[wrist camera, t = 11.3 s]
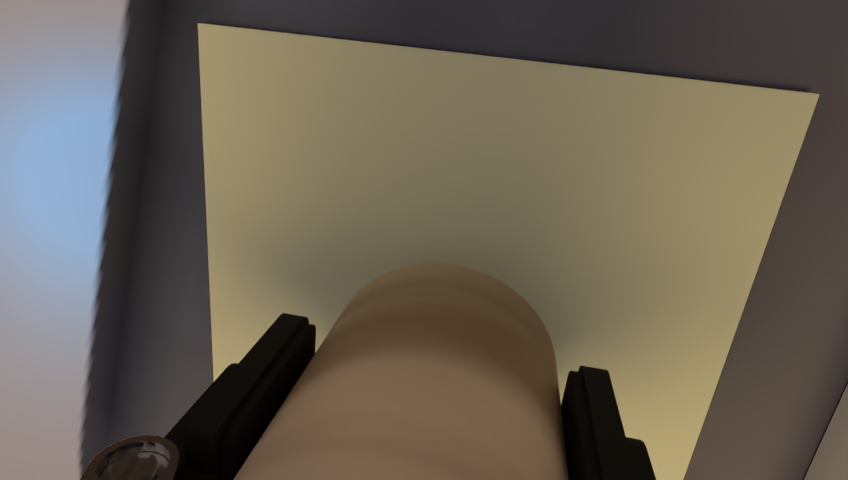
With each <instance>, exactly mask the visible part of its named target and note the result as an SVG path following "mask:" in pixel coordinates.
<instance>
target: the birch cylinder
mask: <svg viewBox="0 0 848 480" xmlns="http://www.w3.org/2000/svg"><path fill="white" fill-rule="evenodd" d="M234 480H569V474H568V465H567V456H566V446H565V437H564V428H563V419H562V410H561V401H560V392H559V383H558V374H557V365H556V358H555V352H554V348H553V344H552V341H551V338H550V335H549V333H548V331H547V329H546V327H545V325H544V323H543V322H542V320H541V319H540V317H539V316H538V314H537V313H536V312H535V310H534V309H533V308H532V307H531V306H530V305H529V304H528V302H527V301H526V300H525V299H524V298H523V297H521V296H520V295H519V294H518V293H517V292H516V291H514V290H513V289H512V288H510V287H509V286H507V285H506V284H504V283H503V282H501V281H500V280H498V279H496V278H494V277H492V276H490V275H488V274H485V273H483V272H480V271H477V270H474V269H471V268H468V267H463V266H459V265H454V264H444V263H422V264H416V265H409V266H405V267H401V268H398V269H394V270H392V271H390V272H387V273H385V274H383V275H380V276H379V277H377V278H375V279H374V280H372V281H371V282H369V283H368V284H366V285H365V286H364V287H363V288H362V289H360V290H359V291H358V292H357V293H356V294H355V295H354V297H353V298H352V299H351V300H350V301H349V302H348V304H347V305H346V307H345V308H344V310H343V312H342V313H341V315H340V316H339V318H338V319H337V321H336V322H335V324H334V325H333V327H332V328H331V330H330V332H329V333H328V335H327V336H326V338H325V339H324V341H323V342H322V344H321V345H320V347H319V348H318V350H317V352H316V353H315V355H314V356H313V358H312V359H311V361H310V362H309V364H308V365H307V367H306V369H305V370H304V372H303V373H302V375H301V376H300V378H299V379H298V381H297V382H296V384H295V385H294V387H293V389H292V390H291V392H290V393H289V395H288V396H287V398H286V399H285V401H284V402H283V404H282V406H281V407H280V409H279V410H278V412H277V413H276V415H275V416H274V418H273V419H272V421H271V422H270V424H269V426H268V427H267V429H266V430H265V432H264V433H263V435H262V436H261V438H260V439H259V441H258V443H257V444H256V446H255V447H254V449H253V450H252V452H251V453H250V455H249V456H248V458H247V459H246V461H245V463H244V464H243V466H242V467H241V469H240V470H239V472H238V473H237V475H236V476H235V478H234Z"/></svg>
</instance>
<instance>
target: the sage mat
mask: <svg viewBox="0 0 848 480" xmlns="http://www.w3.org/2000/svg"><path fill="white" fill-rule="evenodd" d="M198 40H199V63H200V85H201V107H202V129H203V151H204V174H205V196H206V218H207V240H208V262H209V285H210V307H211V329H212V351H213V374H214V381H215V380H216V379H217V378H218V377H219V375H220V374H221V373H222V372H223V371H224V370H225V369H226V368H227V367H228V366H229V365H230V364H233V363H239V362H240V361H241V360H242V359H243V358H244V356H245V355H246V354H247V353H248V352H249V351H250V349H251V348H252V347H253V346H254V345H255V344H256V342H257V341H258V340H259V339H260V338H261V337H262V336H263V334H264V333H265V332H266V331H267V330H268V329H269V327H270V326H271V325H272V324H273V323H274V322H275V320H276V319H277V318H278V317H279V316H280V315H281V314H282V313H287V314H292V315H298V316H304V317H307V318H308V320H309V324H312V325H315V327H316V344H315V353H316V352H317V350H318V348H319V347H320V345H321V344H322V342H323V341H324V339H325V338H326V336H327V335H328V333H329V332H330V330H331V328H332V327H333V325H334V324H335V322H336V321H337V319H338V318H339V316H340V315H341V313H342V312H343V310H344V308H345V307H346V305H347V304H348V302H349V301H350V300H351V299H352V298H353V297H354V295H355V294H356V293H357V292H358V291H359V290H360V289H362V288H363V287H364V286H365V285H366V284H368V283H369V282H371V281H372V280H374V279H375V278H377V277H379V276H380V275H383V274H385V273H387V272H390V271H392V270H394V269H398V268H401V267H405V266H409V265H416V264H422V263H444V264H454V265H459V266H463V267H468V268H471V269H474V270H477V271H480V272H483V273H485V274H488V275H490V276H492V277H494V278H496V279H498V280H500V281H501V282H503V283H504V284H506V285H507V286H509V287H510V288H512V289H513V290H514V291H516V292H517V293H518V294H519V295H520V296H521V297H523V298H524V299H525V300H526V301H527V302H528V304H529V305H530V306H531V307H532V308H533V309H534V310H535V312H536V313H537V314H538V316H539V317H540V319H541V320H542V322H543V323H544V325H545V327H546V329H547V331H548V333H549V335H550V338H551V341H552V344H553V348H554V352H555V358H556V365H557V374H558V383H559V392H560V401H561V403H562V399H563V394H564V390H565V386H566V381H567V377H568V374H569V371H570V370H571V371H577V372H578V370H579V367H580V366H581V365H582V366H587V367H593V368H599V369H604V370H608V372H609V375H610V379H611V383H612V386H613V390H614V394H615V398H616V402H617V405H618V409H619V413H620V417H621V421H622V425H623V428H624V432H625V436H626V437H629V438H634V439H639V440H642V441H643V442H644V443H645V446H646V448H647V451H648V454H649V458H650V461H651V464H652V468H653V471H654V474H655V477H656V480H683V479H684V476H685V473H686V470H687V468H688V465H689V462H690V459H691V456H692V453H693V451H694V448H695V445H696V442H697V439H698V436H699V434H700V431H701V428H702V425H703V422H704V420H705V417H706V414H707V411H708V408H709V405H710V403H711V400H712V397H713V394H714V391H715V388H716V386H717V383H718V380H719V377H720V374H721V372H722V369H723V366H724V363H725V360H726V357H727V355H728V352H729V349H730V346H731V343H732V340H733V338H734V335H735V332H736V329H737V326H738V324H739V321H740V318H741V315H742V312H743V309H744V307H745V304H746V301H747V298H748V295H749V292H750V290H751V287H752V284H753V281H754V278H755V276H756V273H757V270H758V267H759V264H760V261H761V259H762V256H763V253H764V250H765V247H766V244H767V242H768V239H769V236H770V233H771V230H772V228H773V225H774V222H775V219H776V216H777V213H778V211H779V208H780V205H781V202H782V199H783V196H784V194H785V191H786V188H787V185H788V182H789V179H790V177H791V174H792V171H793V168H794V165H795V163H796V160H797V157H798V154H799V151H800V148H801V146H802V143H803V140H804V137H805V134H806V131H807V129H808V126H809V123H810V120H811V117H812V115H813V112H814V109H815V106H816V103H817V100H818V98H819V95H820V94H815V93H810V92H801V91H792V90H783V89H775V88H766V87H757V86H748V85H740V84H731V83H722V82H713V81H705V80H696V79H687V78H678V77H670V76H661V75H652V74H643V73H635V72H626V71H617V70H608V69H600V68H591V67H582V66H573V65H565V64H556V63H547V62H538V61H530V60H521V59H512V58H503V57H495V56H486V55H477V54H468V53H460V52H451V51H442V50H433V49H425V48H416V47H407V46H398V45H390V44H381V43H372V42H363V41H355V40H346V39H337V38H328V37H320V36H311V35H302V34H293V33H285V32H276V31H267V30H258V29H250V28H241V27H232V26H223V25H215V24H204V23H198Z"/></svg>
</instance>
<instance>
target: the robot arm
mask: <svg viewBox="0 0 848 480" xmlns="http://www.w3.org/2000/svg"><path fill="white" fill-rule="evenodd" d="M315 344H316V327H315V325H312V324H309V320H308V318H307V317H304V316H298V315H292V314H287V313H282V314H281V315H280V316H279V317H278V318H277V319H276V320H275V322H274V323H273V324H272V325H271V326H270V327H269V329H268V330H267V331H266V332H265V333H264V334H263V336H262V337H261V338H260V339H259V340H258V341H257V342H256V344H255V345H254V346H253V347H252V348H251V349H250V351H249V352H248V353H247V354H246V355H245V356H244V358H243V359H242V360H241V361H240V362H239V363H233V364H230V365H229V366H228V367H227V368H226V369H225V370H224V371H223V372H222V373H221V374H220V375H219V377H218V378H217V379H216V380H215V381H214V382H213V383H212V384H211V386H210V387H209V388H208V389H207V390H206V391H205V392H204V393H203V395H202V396H201V397H200V398H199V399H198V400H197V401H196V402H195V404H194V405H193V406H192V407H191V408H190V409H189V410H188V411H187V413H186V414H185V415H184V416H183V417H182V418H181V419H180V420H179V422H178V423H177V424H176V425H175V426H174V427H173V428H172V429H171V431H170V432H169V433H168V434H167V435H166V436H165V437H164V438H163V437H160V436H152V435H142V436H135V437H130V438H127V439H124V440H120V441H118V442H116V443H114V444H112V445H110V446H108V447H106V448H105V449H103V450H102V451H101V452H100V453H98V454H97V455H96V456H95V457H94V458H93V459H92V460H91V462H90V463H89V464H88V466H87V467H86V469H85V471H84V473H83V475H82V477H81V479H80V480H234V478H235V476H236V475H237V473H238V472H239V470H240V469H241V467H242V466H243V464H244V463H245V461H246V459H247V458H248V456H249V455H250V453H251V452H252V450H253V449H254V447H255V446H256V444H257V443H258V441H259V439H260V438H261V436H262V435H263V433H264V432H265V430H266V429H267V427H268V426H269V424H270V422H271V421H272V419H273V418H274V416H275V415H276V413H277V412H278V410H279V409H280V407H281V406H282V404H283V402H284V401H285V399H286V398H287V396H288V395H289V393H290V392H291V390H292V389H293V387H294V385H295V384H296V382H297V381H298V379H299V378H300V376H301V375H302V373H303V372H304V370H305V369H306V367H307V365H308V364H309V362H310V361H311V359H312V358H313V356H314V355H315ZM561 410H562V419H563V428H564V437H565V446H566V456H567V465H568V474H569V480H656V477H655V474H654V471H653V468H652V464H651V461H650V458H649V454H648V451H647V448H646V446H645V443H644V442H643V441H642V440H639V439H634V438H629V437H626V436H625V432H624V428H623V425H622V421H621V417H620V413H619V409H618V405H617V402H616V398H615V394H614V390H613V386H612V383H611V379H610V375H609V372H608V370H604V369H599V368H593V367H587V366H582V365H581V366H580V367H579V370H578V372H577V371H571V370H570V371H569V374H568V377H567V381H566V386H565V390H564V394H563V399H562V403H561Z"/></svg>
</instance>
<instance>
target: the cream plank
mask: <svg viewBox="0 0 848 480" xmlns="http://www.w3.org/2000/svg"><path fill="white" fill-rule="evenodd" d="M804 480H848V384H847V386H846V389H845V391H844V393H843V395H842V397H841V400H840V402H839V404H838V406H837V408H836V411H835V413H834V415H833V417H832V419H831V421H830V424H829V426H828V428H827V430H826V432H825V435H824V437H823V439H822V441H821V443H820V445H819V448H818V450H817V452H816V454H815V456H814V459H813V461H812V463H811V465H810V467H809V470H808V472H807V474H806V476H805V478H804Z"/></svg>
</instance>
